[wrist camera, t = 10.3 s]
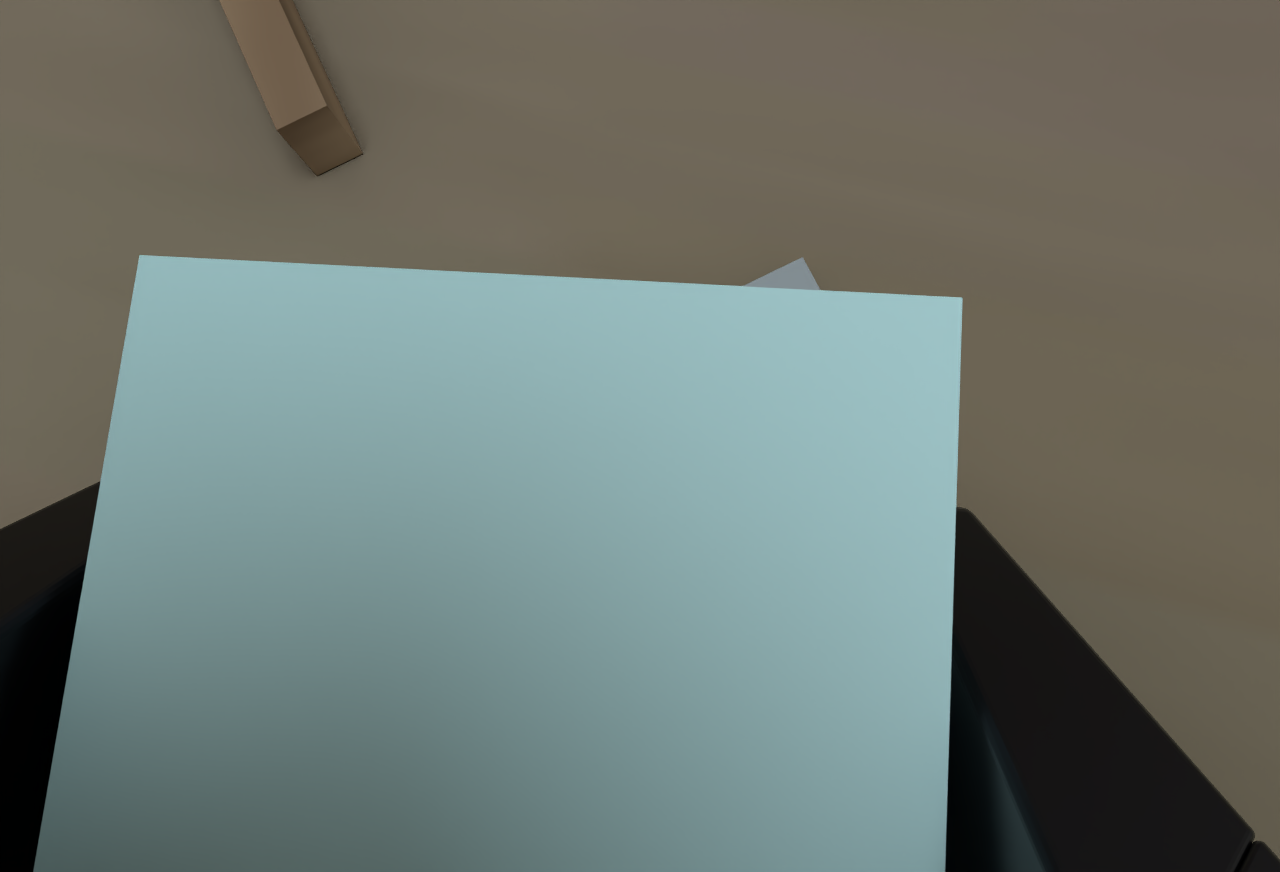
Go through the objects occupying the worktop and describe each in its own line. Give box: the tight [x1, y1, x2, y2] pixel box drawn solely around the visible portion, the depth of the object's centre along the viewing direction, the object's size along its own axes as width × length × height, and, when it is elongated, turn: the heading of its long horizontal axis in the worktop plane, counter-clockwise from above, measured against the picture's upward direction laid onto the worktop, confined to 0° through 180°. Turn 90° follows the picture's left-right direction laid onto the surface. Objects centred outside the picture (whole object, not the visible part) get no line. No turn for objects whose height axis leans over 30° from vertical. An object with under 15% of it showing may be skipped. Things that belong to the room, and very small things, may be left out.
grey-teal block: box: [33, 255, 962, 872], centre depth 11 cm, size 5×5×9 cm
